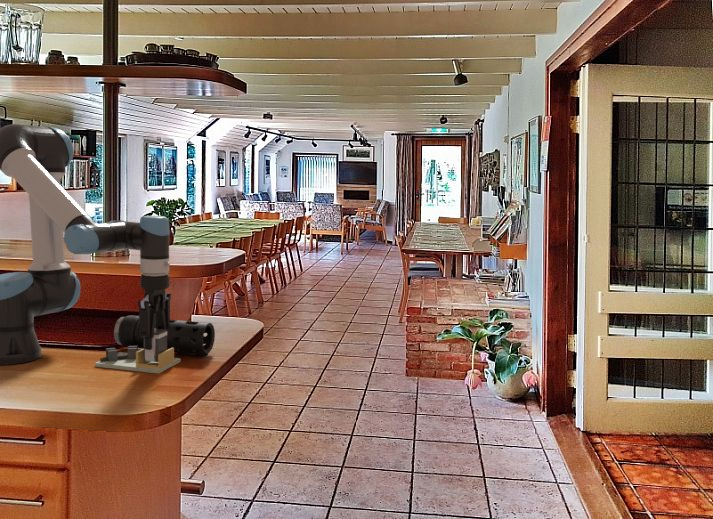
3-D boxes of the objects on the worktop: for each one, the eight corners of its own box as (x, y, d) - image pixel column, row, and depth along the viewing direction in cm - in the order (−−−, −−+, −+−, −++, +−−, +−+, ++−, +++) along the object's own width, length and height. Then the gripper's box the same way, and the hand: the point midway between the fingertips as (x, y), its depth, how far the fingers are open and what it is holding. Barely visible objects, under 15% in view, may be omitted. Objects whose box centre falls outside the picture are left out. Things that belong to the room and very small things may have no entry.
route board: (94, 366, 191) (94, 352, 190) (119, 355, 202) (119, 341, 202) (158, 373, 186) (158, 358, 186) (180, 361, 198) (180, 348, 198)
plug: (143, 360, 190) (143, 331, 189) (152, 356, 194) (152, 328, 193) (159, 362, 189) (158, 333, 187) (167, 357, 193) (167, 329, 192)
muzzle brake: (202, 361, 200) (202, 325, 199) (112, 352, 205) (112, 318, 204) (215, 352, 209) (215, 318, 208) (129, 345, 215) (128, 311, 213)
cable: (100, 361, 192) (99, 358, 192) (100, 358, 195) (100, 355, 195) (148, 359, 195) (148, 356, 195) (148, 356, 199) (148, 353, 198)
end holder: (135, 366, 189) (135, 352, 188) (150, 359, 196) (150, 345, 195) (160, 369, 187) (160, 354, 186) (174, 361, 194) (174, 347, 194)
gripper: (150, 279, 179) (151, 368, 182) (183, 270, 196) (183, 351, 199) (124, 277, 181) (125, 365, 184) (158, 268, 198) (159, 349, 201)
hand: (155, 358), depth 191 cm, fingers closed on plug, 5 cm apart
